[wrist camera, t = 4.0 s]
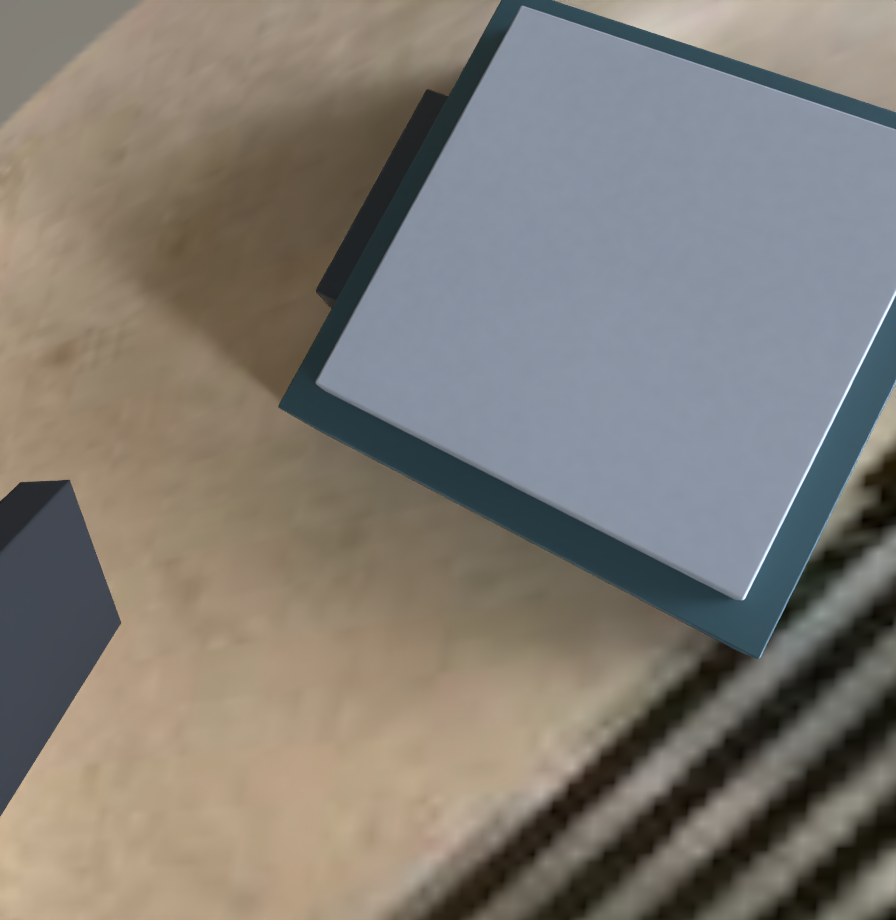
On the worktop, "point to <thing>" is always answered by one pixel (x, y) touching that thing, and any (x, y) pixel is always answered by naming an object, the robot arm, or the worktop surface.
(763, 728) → the worktop surface
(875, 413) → the scale
